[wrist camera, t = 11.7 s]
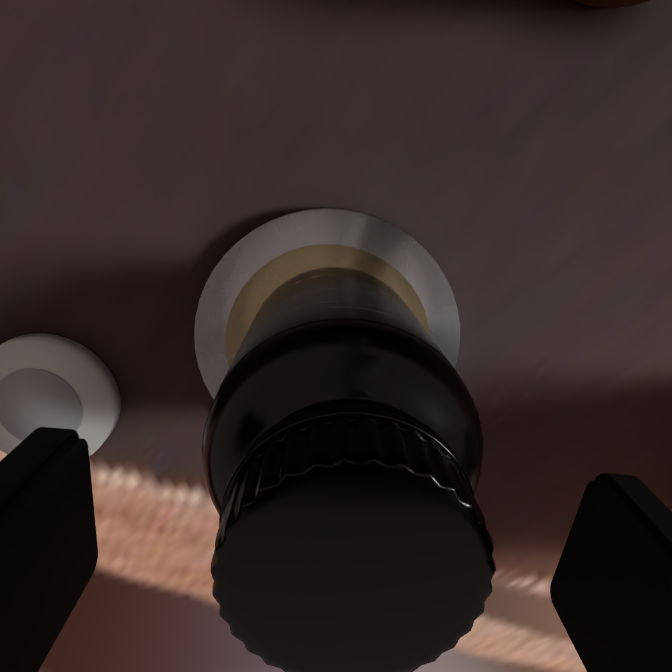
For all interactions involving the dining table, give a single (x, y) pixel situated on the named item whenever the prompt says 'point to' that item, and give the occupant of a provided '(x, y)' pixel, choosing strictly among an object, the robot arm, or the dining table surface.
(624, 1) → the mug
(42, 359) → the plastic flange
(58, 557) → the robot arm
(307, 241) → the silver and gold coaster
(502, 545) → the dining table surface
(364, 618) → the supplement bottle
